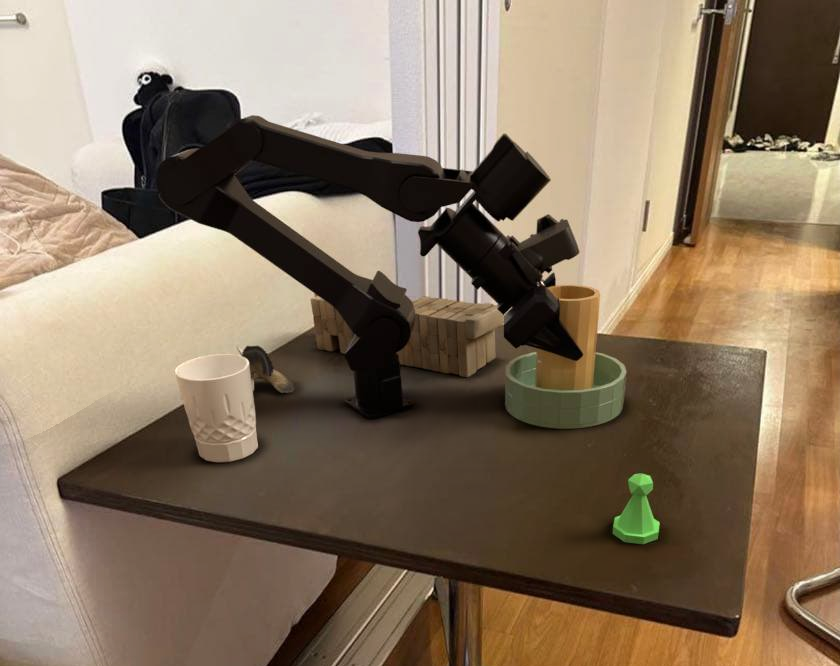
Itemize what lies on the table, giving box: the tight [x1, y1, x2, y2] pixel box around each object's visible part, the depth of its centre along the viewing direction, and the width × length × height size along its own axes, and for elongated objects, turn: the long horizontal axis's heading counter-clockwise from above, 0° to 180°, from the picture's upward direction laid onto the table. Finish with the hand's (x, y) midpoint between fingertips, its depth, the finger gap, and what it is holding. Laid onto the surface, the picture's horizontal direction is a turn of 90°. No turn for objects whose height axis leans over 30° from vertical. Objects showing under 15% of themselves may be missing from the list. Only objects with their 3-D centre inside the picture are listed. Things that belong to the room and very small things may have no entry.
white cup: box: [174, 353, 259, 463], centre depth 88 cm, size 8×8×10 cm
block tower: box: [310, 293, 505, 378], centre depth 112 cm, size 8×8×29 cm
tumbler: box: [535, 284, 601, 391], centre depth 93 cm, size 7×7×13 cm
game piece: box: [612, 473, 660, 545], centre depth 70 cm, size 4×4×6 cm
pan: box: [504, 351, 628, 430], centre depth 96 cm, size 14×14×4 cm
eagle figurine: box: [236, 345, 295, 394], centre depth 104 cm, size 8×7×9 cm
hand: (578, 347), depth 93 cm, fingers closed on tumbler, 7 cm apart
